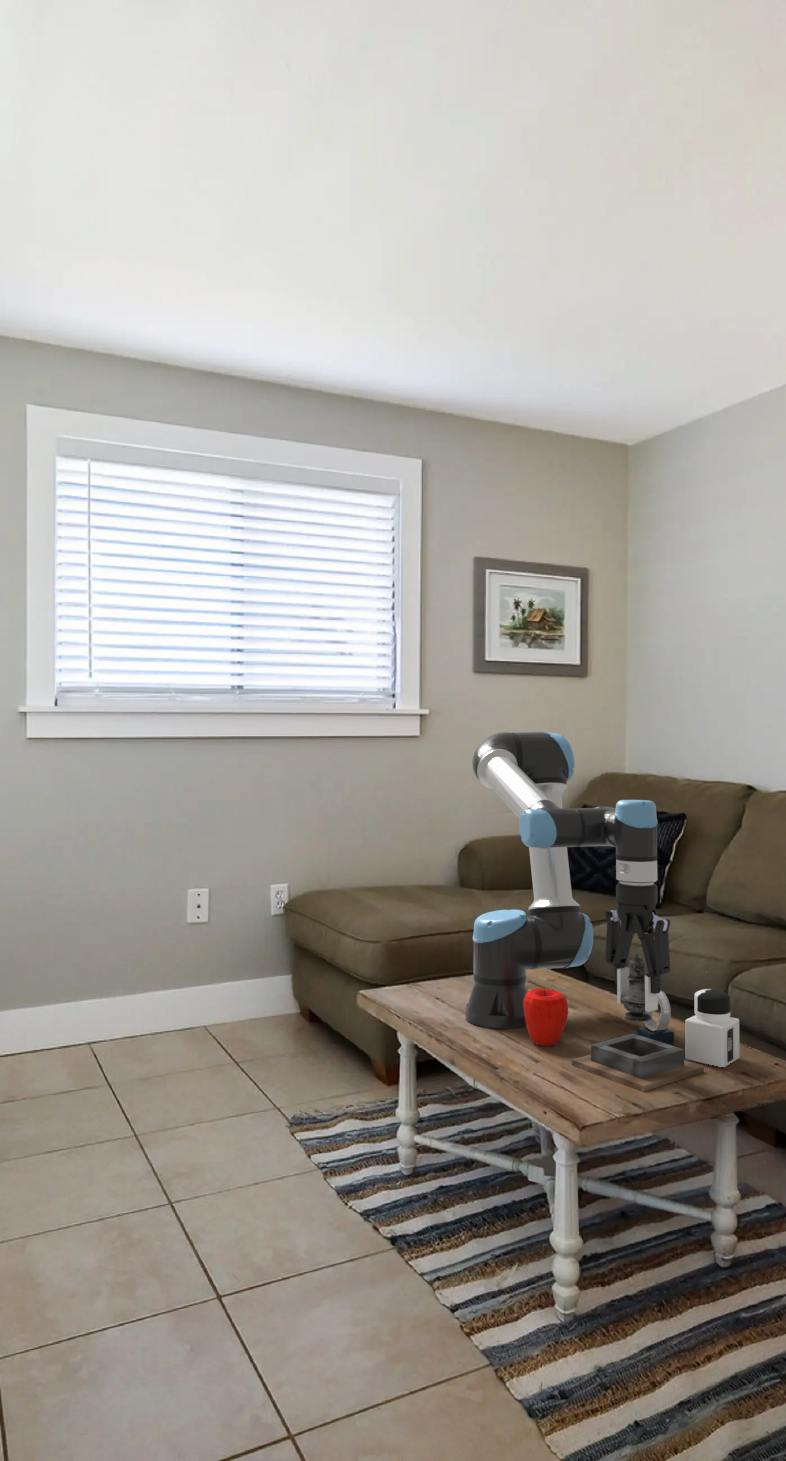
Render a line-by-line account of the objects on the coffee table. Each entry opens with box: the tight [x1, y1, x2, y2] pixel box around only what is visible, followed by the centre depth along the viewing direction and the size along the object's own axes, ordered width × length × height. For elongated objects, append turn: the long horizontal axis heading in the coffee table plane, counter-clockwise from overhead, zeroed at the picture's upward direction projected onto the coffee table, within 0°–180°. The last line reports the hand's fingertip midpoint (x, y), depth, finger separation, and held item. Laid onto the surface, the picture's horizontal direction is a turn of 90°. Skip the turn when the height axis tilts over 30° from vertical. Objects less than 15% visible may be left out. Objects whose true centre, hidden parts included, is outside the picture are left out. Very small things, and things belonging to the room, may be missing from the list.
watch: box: [637, 990, 675, 1046], centre depth 192 cm, size 6×8×11 cm
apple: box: [523, 988, 569, 1047], centre depth 194 cm, size 9×9×11 cm
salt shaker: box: [621, 952, 652, 1023], centre depth 178 cm, size 6×6×12 cm
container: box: [684, 988, 740, 1068], centre depth 184 cm, size 8×8×13 cm
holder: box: [571, 1033, 705, 1092], centre depth 178 cm, size 17×17×4 cm
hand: (637, 1006), depth 178 cm, fingers closed on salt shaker, 6 cm apart
